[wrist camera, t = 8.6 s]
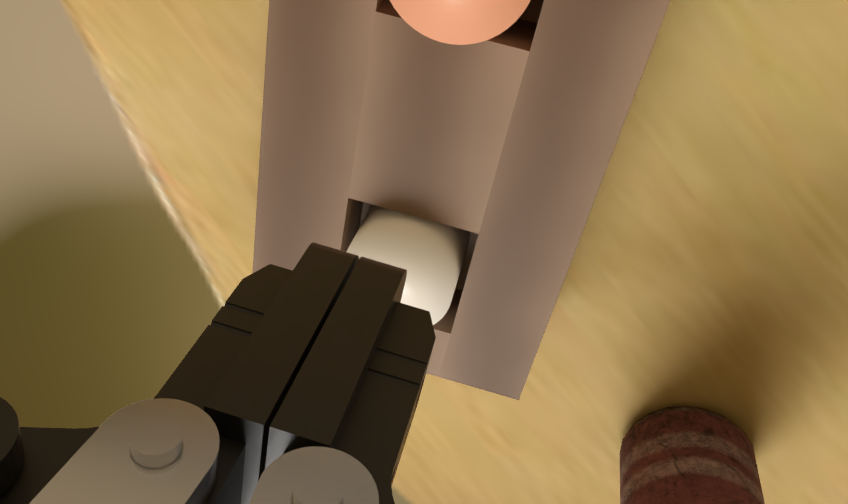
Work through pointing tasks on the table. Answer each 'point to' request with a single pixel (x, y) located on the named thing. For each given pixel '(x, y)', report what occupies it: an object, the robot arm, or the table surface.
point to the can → (688, 460)
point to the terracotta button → (460, 18)
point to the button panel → (450, 151)
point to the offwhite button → (415, 255)
